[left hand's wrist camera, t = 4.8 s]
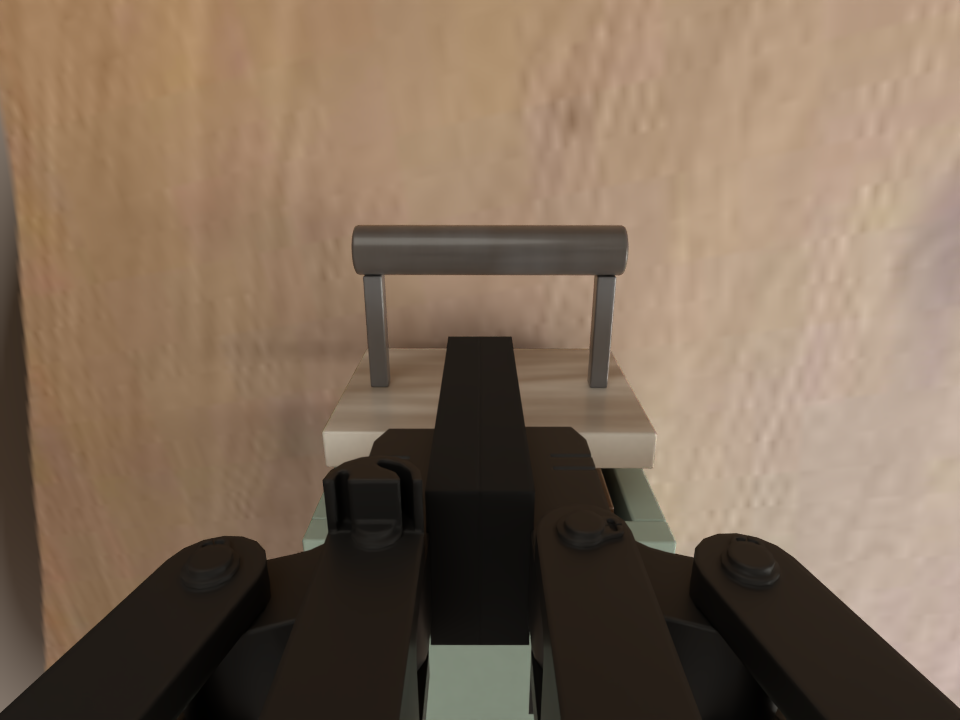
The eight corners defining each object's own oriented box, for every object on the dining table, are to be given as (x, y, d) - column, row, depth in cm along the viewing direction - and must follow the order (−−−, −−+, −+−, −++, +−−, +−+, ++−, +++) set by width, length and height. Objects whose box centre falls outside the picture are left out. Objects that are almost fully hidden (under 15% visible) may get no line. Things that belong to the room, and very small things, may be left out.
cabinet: (361, 404, 26) (301, 540, 18) (614, 405, 26) (677, 542, 18) (388, 750, 34) (355, 963, 25) (583, 752, 34) (617, 966, 25)
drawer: (357, 210, 22) (301, 246, 16) (622, 210, 22) (680, 246, 15) (392, 710, 31) (367, 868, 25) (580, 712, 31) (606, 872, 25)
